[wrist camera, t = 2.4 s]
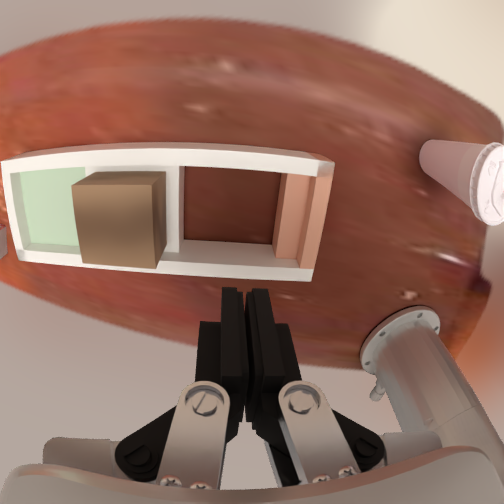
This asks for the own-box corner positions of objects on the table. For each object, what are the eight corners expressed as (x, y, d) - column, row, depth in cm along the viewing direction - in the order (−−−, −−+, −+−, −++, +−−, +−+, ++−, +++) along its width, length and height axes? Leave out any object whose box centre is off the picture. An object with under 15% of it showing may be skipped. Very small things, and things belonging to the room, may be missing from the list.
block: (167, 243, 23) (155, 269, 19) (102, 240, 22) (82, 263, 19) (166, 171, 20) (151, 184, 16) (95, 171, 19) (71, 185, 16)
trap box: (301, 258, 27) (311, 281, 23) (38, 242, 24) (18, 260, 21) (319, 154, 22) (335, 162, 19) (25, 152, 20) (0, 161, 16)
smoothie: (411, 193, 24) (512, 265, 12) (403, 130, 21) (524, 167, 9) (455, 181, 24) (552, 239, 11) (451, 123, 21) (562, 157, 8)
